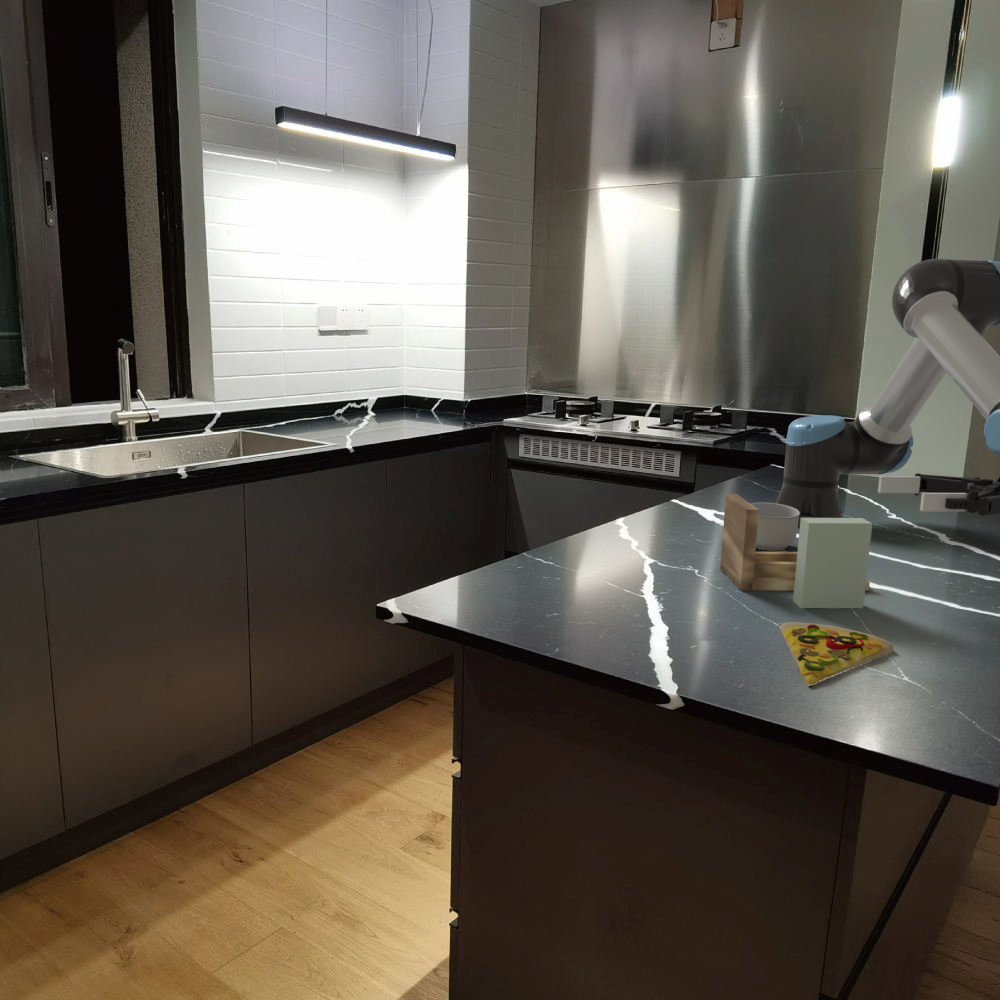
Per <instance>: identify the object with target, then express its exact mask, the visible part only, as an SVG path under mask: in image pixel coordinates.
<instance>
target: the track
mask: <svg viewBox="0 0 1000 1000" xmlns="http://www.w3.org/2000/svg"><path fill="white" fill-rule="evenodd" d="M724 501H725V502H724V513H723V526H722V539H721V540H722V541H721V552H720V553H721V554H720V555H721V557H720V565H719V566H720V567H719V569H720V570H722V571H723V572H724V573H725V574H726V575H727V576H728V577H729V578H730V579H731V580H732V581H733V582H734V583H735V584H736V585H735V584H734V583H733V582H732V581H731V580H730V579H729V578H728V577H727V576H726V575H725V574H724V575H725V576H726V577H727V578H728V579H729V580H730V581H731V582H732V583H733V584H734V585H735V587H737V586H738V587H737V588H738V589H739V588H740V589H739V590H740V591H793V592H794V584H795V574H796V563H797V552H798V551H756V549H757V548H756V537H757V525H758V513H759V509H757V508H756V507H754V506H753V505H751V502H749V501H747V500H746V499H744V498H743V497H742V496H740V495H739V494H736V493H730V494H729V493H726V494H725V500H724ZM722 571H721V572H722ZM723 572H722V573H723ZM869 590H870V581H869V580H867V579H866V585H865V592H867V591H868V592H869Z"/></svg>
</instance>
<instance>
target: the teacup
mask: <svg viewBox="0 0 1000 1000" xmlns="http://www.w3.org/2000/svg"><path fill="white" fill-rule="evenodd" d="M750 504H751V505H753V506H754V507H756V508H757V509H759V513H758V525H757V537H756V549H758V550H760V549H761V551H765V550H767V551H766V552H780V551H779V550H781V551H784V550H785V549H787V547H789V546H791V545H793V544H794V542H795V541H796V538H797V534H798V529H799V528H798V521H799V515H800V512H799V510H797V509H795V508H793V507H790V506H787V505H782V504H777V503H776V502H775V503H774V502H750Z"/></svg>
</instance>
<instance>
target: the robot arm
mask: <svg viewBox="0 0 1000 1000" xmlns="http://www.w3.org/2000/svg"><path fill="white" fill-rule="evenodd" d="M895 283H896V284H895V286H894V287H893V290H892V292H893V293H892V296H891V299H892V300H891V306H892V310H893V315H894V316H895V318H896V321H897V322H898V324H899V326H901V328H902V329H903V330H904V331H905V334H907V335H909V336H910V337H912V338H914V340H913V342H912V343H911V345H910V346H909V347H908V350H907V351H906V352H905V354H904V355H903V357H902V358H901V360H900V362H899V364H898V365H897V367H896V368H895V370H894V371H893V373H892V375H891V376H890V378H889V380H887V383H886V384H885V386H884V387H883V389H882V391H881V392H880V393H879V396H878V397H877V399H876V400H875V402H874V403H873V404H872V405H868V406H865V407H864V408H861V410H860V412H859V413H858V415H857V416H856V418H855V420H854V421H845V419H844V417H842V416H839V415H830V414H829V415H828V414H827V415H809V416H804V417H799V418H797V419H795V420H793V421H792V422H790V424H789V425H788V429H787V435H786V439H785V443H786V444H785V445H786V446H785V456H784V470H783V481H782V486H781V489H780V491H779V494H778V496H777V498H776V502H775V503H777V504H782V505H787V506H790V507H793V508H795V509H797V510H799V512H800V515H799V521H798V527H799V528H800V520H801V518H844V511H843V510H842V502H841V497H840V493H839V480H840V475H879V477H878V478H879V479H878V486H877V487H878V488H877V493H879V494H914V496H917V497H918V496H920V492H921V497H920V505H919V511H920V512H939V513H940V512H947V513H948V512H950V513H951V512H953V513H954V512H957V513H961V512H962V513H963V512H966V511H967V512H968V513H970V514H971V513H972V514H974V513H977V514H978V515H979V516H983V517H985V516H990V515H996V514H998V515H999V514H1000V476H999V477H998V479H997V480H996V481H994V479H990V478H980V477H977V476H976V477H963V476H962V477H961V476H960V477H959V476H949V475H935V474H922V473H915V474H914V475H913V476H911V475H910V476H909V475H908V476H907V475H901V476H899V475H884V474H889V473H890V474H891V473H895V472H897V471H899V470H901V469H902V468H903V467H905V465H906V464H907V463H908V462H909V460H910V458H911V456H912V453H913V450H912V447H913V446H914V437H913V427H912V426H911V424H912V423H913V421H914V420H915V419H916V417H917V416H918V414H919V413H920V411H921V410H922V409H923V407H924V406H925V404H926V402H927V401H928V400H929V398H931V395H932V394H933V393H934V391H935V389H936V388H937V387H938V385H939V384H940V383H941V381H942V379H944V377H945V375H946V374H948V376H949V377H950V378H951V379H952V380H953V381H954V383H955V384H956V385H957V386H958V387H959V389H960V390H961V391H962V392H963V394H964V395H965V396H966V397H967V398H968V400H969V401H970V402H971V404H973V406H974V407H975V408H976V409H977V411H979V413H980V415H981V416H982V417H983V418H984V419H985V424H984V426H983V427H984V428H983V436H984V438H985V440H986V441H985V444H986V446H987V447H988V449H989V450H990V451H991V452H992V453H993V454H995V455H997V456H1000V355H999V354H998V352H997V351H996V350H995V349H994V347H992V346H991V345H990V343H989V342H988V341H987V340H986V338H984V337H983V334H985V332H986V331H987V329H989V327H990V326H1000V261H996V260H991V259H988V258H987V259H982V260H976V259H975V260H973V259H972V260H971V259H970V260H968V259H950V258H949V259H943V258H930V259H924V260H921V261H919V262H917V263H915V264H914V265H912V266H909V268H908V269H906V270H905V271H904V272H903V273H902V274H901V275H900V277H899V278H898V280H897V281H896V282H895Z"/></svg>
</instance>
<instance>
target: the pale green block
mask: <svg viewBox="0 0 1000 1000" xmlns="http://www.w3.org/2000/svg"><path fill="white" fill-rule="evenodd" d="M872 529H873V523H872V522H870V521H869V520H867V519H865V518H863V517H843V518H801V520H800V527H799V532H798V543H797V551H796V552H797V563H796V574H795V584H794V591H793V596H792V597H793V598H792V602H793V603H796V604H795V605H797V606H798V607H799V608H800V609H804V608H830V609H831V608H833V609H834V608H836V609H837V608H838V609H837V610H839V608H860V609H861V608H862V609H861V610H863V609H864V604H865V603H864V602H865V601H864V600H865V593H866V591H865V585H866V580H867V576H868V575H867V573H868V566H869V556H870V549H871V548H870V547H871V539H872V532H873V531H872Z"/></svg>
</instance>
